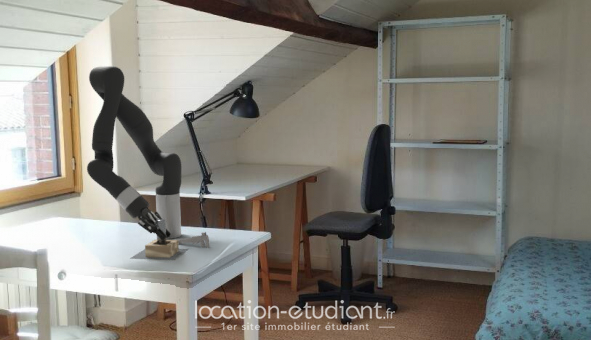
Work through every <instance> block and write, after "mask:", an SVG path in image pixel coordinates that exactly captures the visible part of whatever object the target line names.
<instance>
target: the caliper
mask: <svg viewBox="0 0 591 340" xmlns="http://www.w3.org/2000/svg"><path fill="white" fill-rule="evenodd" d="M175 240H178V244H184V243H185V244H187V243H192V245H195V244H196V245H197V244H199V243H200V245H201V248H205V247H206V248H208V249H209V248H210V237H209V235H208V234H207V232H206V231H205V232H201V235H196V236H195V235H194V236H191V237H187V238H186V237H185V238H175Z"/></svg>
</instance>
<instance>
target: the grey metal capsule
mask: <svg viewBox="0 0 591 340" xmlns="http://www.w3.org/2000/svg"><path fill="white" fill-rule="evenodd" d="M156 224H157V226H158V227H159V229H161V230H162V231H163V232H164V233H165V234H166V220H165V219H159V220H156ZM156 240H157V245H166V240H167V239H166V238H165V240H161V239H160V238H159V237H158V236H157V235H156Z"/></svg>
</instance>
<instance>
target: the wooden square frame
mask: <svg viewBox="0 0 591 340" xmlns="http://www.w3.org/2000/svg"><path fill="white" fill-rule="evenodd" d="M144 249H145V254H146V257H167V258H170V257H171V256H173V255H174V254H176V253H177V252H178V251H179V249H180V248H179V243H178V240H176V239H166V245H157V239H154V240H152V241H150V242H148V243H147V244H146V245H144Z"/></svg>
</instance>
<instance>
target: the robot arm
mask: <svg viewBox="0 0 591 340" xmlns="http://www.w3.org/2000/svg"><path fill="white" fill-rule="evenodd" d="M88 75H89V76H88V78H89V79H88V80H89V83H90V85H91V87H92V89H93V90H94V92H95V93H96V94H97V95H98V96H99V97H100V98H101V99H102V100H103V103H102V107H101V109H100V111H99V113H98V115H97V118H96V119H95V122H94V125H93V128H92V129H93V130H92V137H91V138H92V139H91V149H92V151H93V152H94V158H93V159H92V160H90V161H89V162H88V163H87V166H86V172H87V175H88V176H89V177H90V178H91V179H92V180H93V181H94V182H95V183H97V184H98V185H99V186H100V187H101V188H103V189H104V190H106V191H107V192H108V193H109V194H110V195H111V197H113V199H115V200H116V202H117V203H118V204H119V205H120V207H121V208H122V209H123V210H124V211H125V212H126V213H127V215H129V216H130V217H131V218H132V219H135V220H136V219H138V220H139V221H138V222H137V224H138V225H139V227H142V228H143V229H144V230H146V231H147V232H148V233H150V234H152V233H153V234H155V235H156V237H157V236H158V237H159V238H160V239H161V240H165V238H166V240H172V239H178V238H180V237H182V221H181V219H182V218H181V195H180V194H181V193H180V191H181V190H180V189H181V185H182V160H181V158H180V156H179V155H178V154H177V153H175V152H163V151H162V150H161V149H160V148H159V147H158V145H157V143H156V142H155V140H154V128H153V125H152V122H151V121H150V120H149V117H147V115H146V114H145V112H144V111H143V110H142V109H141V107H139V106H138V105H137V104H136V103H134V102H133V101H132V100H131V99H129V98H128V97H126V96H125V95H124V94H123V90H124V87H125V74H124V72H123V70H121V68H120V67H117V66H113V65H109V66H108V65H107V66H106V65H104V66H101V65H100V66H96V67H94V68H92V69H90V72H89V74H88ZM116 119H117V120H118V121H119V123H120V124H121V126H122V127H123V129H124V130H125V131H126V133H127V134H128V136H129V137H130V138H131V140H132V141H133V142H134V144H135V145H136V146H137V148H138V150H139V151H140V152H141V154H142V156H143V157H144V158H143V159H145V162H146V163H147V166H148V167H149V169H150V171H152V173H153V174H154V175H157V176H161V177H162V178H163V179H162V183H161V184H159V185H157V186H156V187H155V205H156V206H155V207H156V208H155V210H156V211H155V212H153V211H152V210H151V209H149V206H150V202H149V201H147V200H146V199H145V198H144V196H142V195H141V194H140V192H139V191H138V190H136V189H135V188H134V186H132V185H131V184H130V183H129V182H127V180H126V179H124V178H123V177H122V176H120V175H117V174H116V172H114V154H113V145H114V144H113V143H114V135H115V132H114V131H115V125H116ZM159 219H165V220H166V234H165V233H164V232H163V231H162V230H161V229H159V227H158V226H157V224H156V220H159Z"/></svg>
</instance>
